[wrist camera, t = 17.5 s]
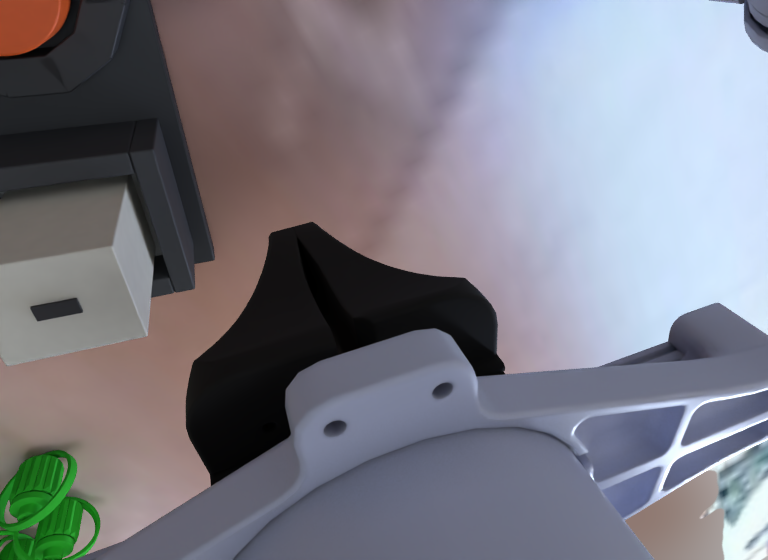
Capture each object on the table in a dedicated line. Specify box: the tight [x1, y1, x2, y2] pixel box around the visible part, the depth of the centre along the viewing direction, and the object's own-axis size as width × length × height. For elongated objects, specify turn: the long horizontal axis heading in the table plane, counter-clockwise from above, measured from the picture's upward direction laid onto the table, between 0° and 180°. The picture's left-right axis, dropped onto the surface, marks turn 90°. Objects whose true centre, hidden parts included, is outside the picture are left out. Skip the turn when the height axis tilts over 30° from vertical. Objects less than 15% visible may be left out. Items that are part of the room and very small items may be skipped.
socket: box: [0, 118, 195, 297], centre depth 19 cm, size 6×6×5 cm
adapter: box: [0, 0, 215, 264], centre depth 18 cm, size 8×16×3 cm, turn 1°
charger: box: [0, 174, 155, 366], centre depth 17 cm, size 4×3×6 cm
